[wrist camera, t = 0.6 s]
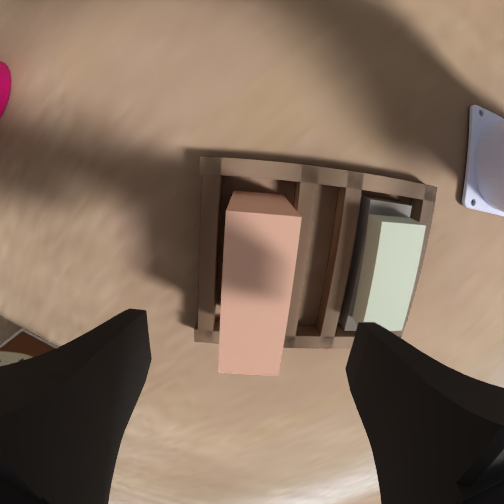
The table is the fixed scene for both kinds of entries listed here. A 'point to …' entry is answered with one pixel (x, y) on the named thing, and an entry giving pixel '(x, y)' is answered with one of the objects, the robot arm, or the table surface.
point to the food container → (23, 347)
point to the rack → (301, 240)
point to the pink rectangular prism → (256, 281)
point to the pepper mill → (4, 86)
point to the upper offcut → (388, 270)
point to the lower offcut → (366, 207)
